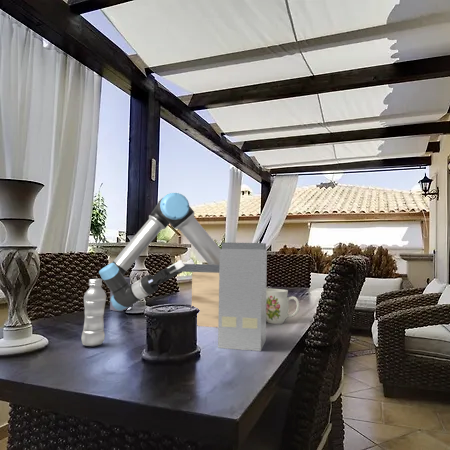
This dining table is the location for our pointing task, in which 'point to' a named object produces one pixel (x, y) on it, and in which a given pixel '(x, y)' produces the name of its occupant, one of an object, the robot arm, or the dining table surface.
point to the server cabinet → (242, 296)
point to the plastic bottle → (94, 314)
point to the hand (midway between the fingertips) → (188, 262)
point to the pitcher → (278, 305)
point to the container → (112, 295)
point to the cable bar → (199, 268)
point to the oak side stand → (206, 297)
